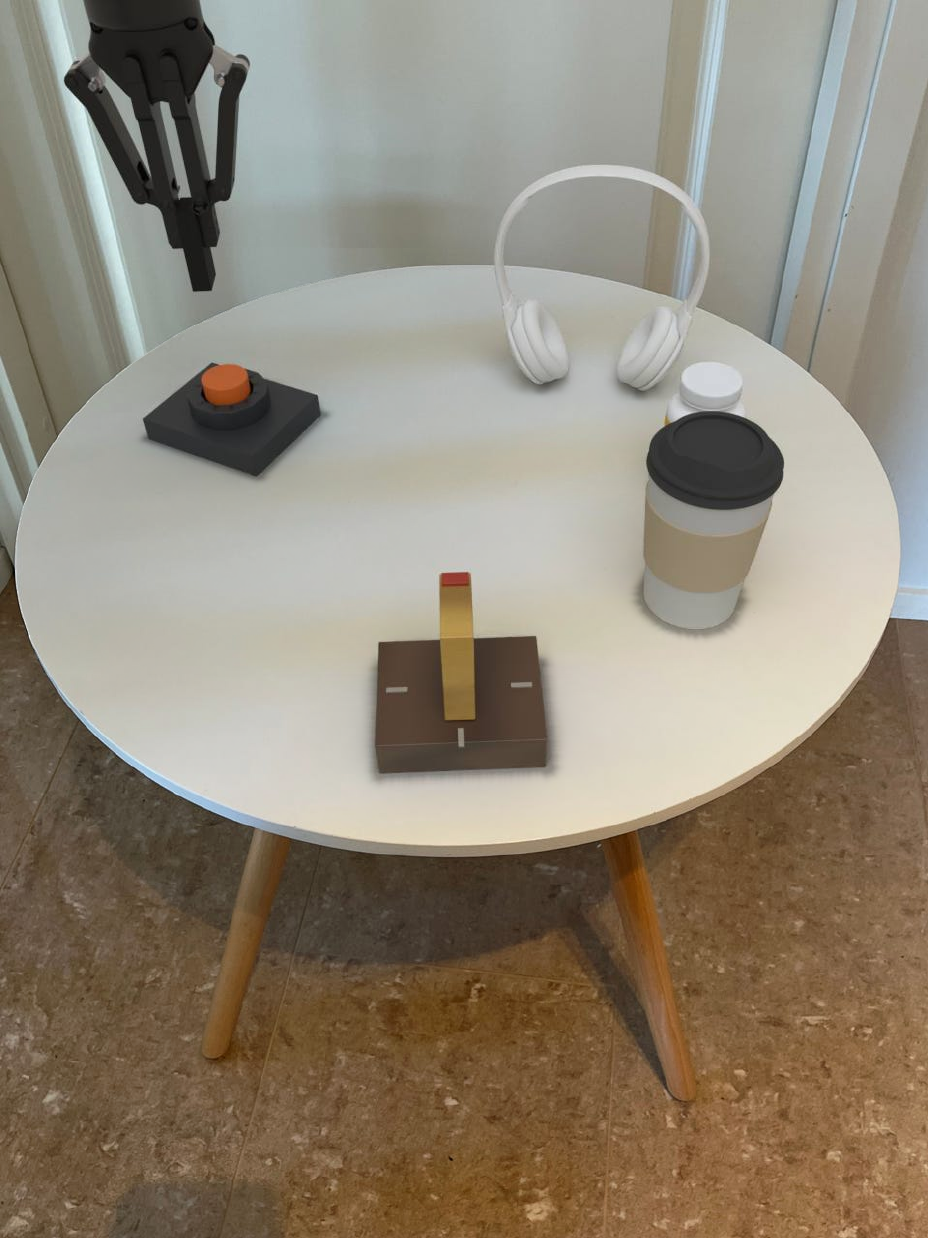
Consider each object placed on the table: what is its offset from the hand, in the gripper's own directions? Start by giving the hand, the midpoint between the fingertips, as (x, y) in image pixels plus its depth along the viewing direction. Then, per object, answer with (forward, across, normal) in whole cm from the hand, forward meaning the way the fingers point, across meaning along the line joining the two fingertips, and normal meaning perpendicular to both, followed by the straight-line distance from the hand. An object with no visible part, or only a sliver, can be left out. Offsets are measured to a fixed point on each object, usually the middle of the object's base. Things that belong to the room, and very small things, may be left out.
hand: (204, 282), depth 86 cm
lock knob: (+11, -19, +34) cm, 41 cm away
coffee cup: (+14, -37, +24) cm, 46 cm away
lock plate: (+14, -19, +34) cm, 42 cm away
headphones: (+15, -33, -5) cm, 36 cm away
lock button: (+11, 0, 0) cm, 11 cm away
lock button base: (+14, 0, 0) cm, 14 cm away
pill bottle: (+15, -40, +11) cm, 44 cm away
